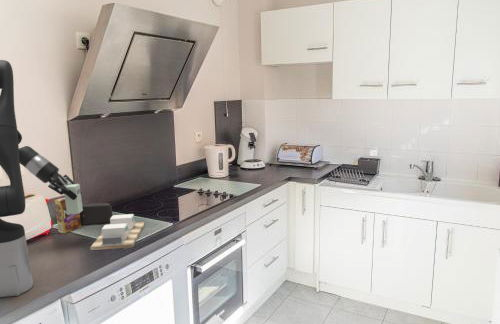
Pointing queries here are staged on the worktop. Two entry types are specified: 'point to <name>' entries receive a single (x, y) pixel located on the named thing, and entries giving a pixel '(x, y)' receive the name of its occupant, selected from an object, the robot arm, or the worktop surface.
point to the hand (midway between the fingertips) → (77, 196)
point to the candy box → (66, 217)
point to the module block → (76, 204)
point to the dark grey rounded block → (95, 213)
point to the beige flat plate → (116, 243)
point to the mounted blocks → (117, 228)
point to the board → (127, 243)
